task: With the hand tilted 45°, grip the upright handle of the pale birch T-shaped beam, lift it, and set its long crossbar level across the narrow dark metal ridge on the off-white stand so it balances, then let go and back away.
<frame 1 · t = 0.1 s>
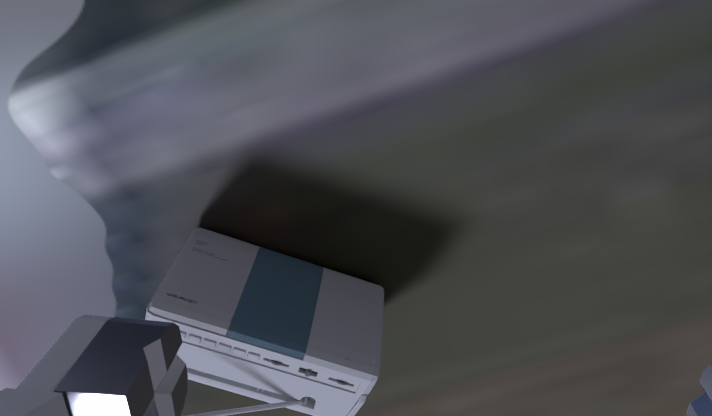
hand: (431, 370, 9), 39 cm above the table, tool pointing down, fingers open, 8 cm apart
stereo radio cassette player: (285, 273, 60), on the table
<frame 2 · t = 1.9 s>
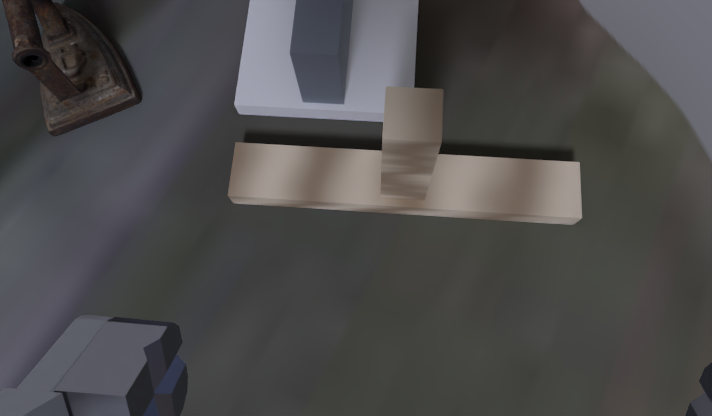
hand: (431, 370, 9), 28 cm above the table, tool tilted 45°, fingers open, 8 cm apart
clothes iron: (81, 64, 44), on the table
balance beam: (401, 188, 40), on the table
ridge stand: (335, 4, 44), on the table
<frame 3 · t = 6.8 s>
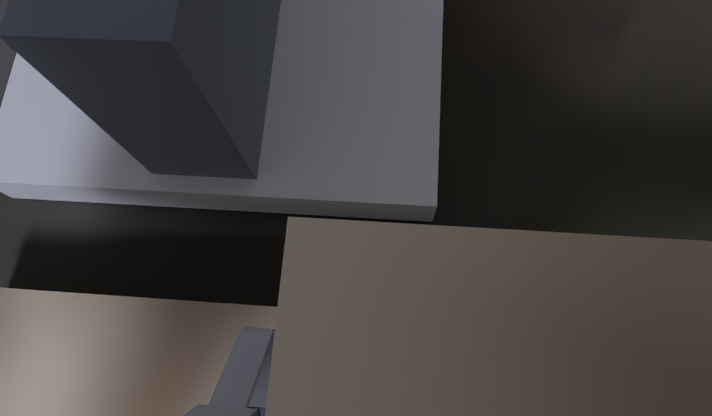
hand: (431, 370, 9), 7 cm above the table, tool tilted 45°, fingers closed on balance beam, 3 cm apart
balance beam: (410, 399, 15), on the table, touching gripper
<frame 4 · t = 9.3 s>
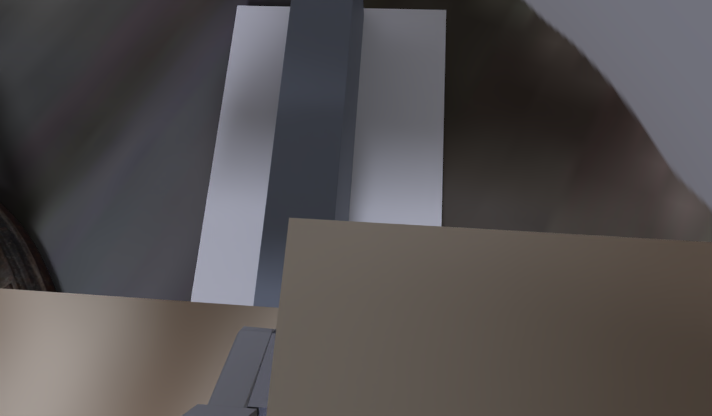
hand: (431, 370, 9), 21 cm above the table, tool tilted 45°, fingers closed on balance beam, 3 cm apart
balance beam: (410, 400, 15), point 14 cm above the table, touching gripper
ridge stand: (329, 166, 32), on the table
when the fingers open (16 cm above the table, at t = 11.7 s): balance beam stays where it is, resting on ridge stand.
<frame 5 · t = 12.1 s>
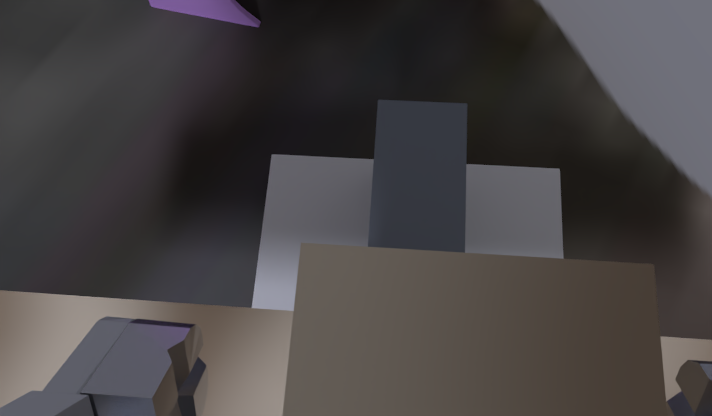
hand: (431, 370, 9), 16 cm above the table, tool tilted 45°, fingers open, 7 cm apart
balance beam: (407, 397, 16), point 8 cm above the table, touching ridge stand
ridge stand: (401, 393, 23), on the table
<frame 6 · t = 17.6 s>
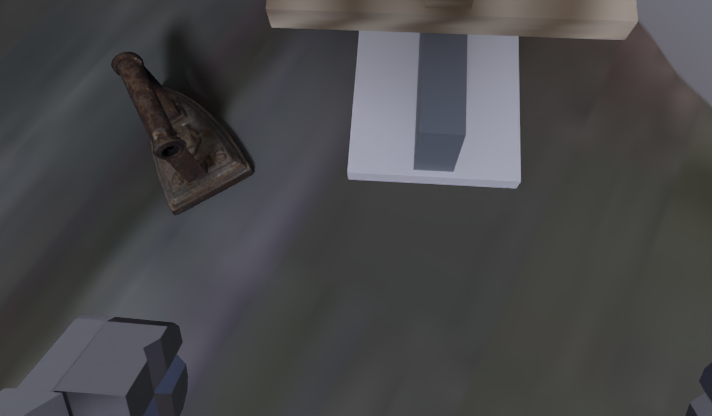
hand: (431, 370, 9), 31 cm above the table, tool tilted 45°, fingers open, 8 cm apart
clothes iron: (189, 141, 45), on the table
balance beam: (445, 8, 38), point 8 cm above the table, touching ridge stand
ridge stand: (435, 71, 46), on the table
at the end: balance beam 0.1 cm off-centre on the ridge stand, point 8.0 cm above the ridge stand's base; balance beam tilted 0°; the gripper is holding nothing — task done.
